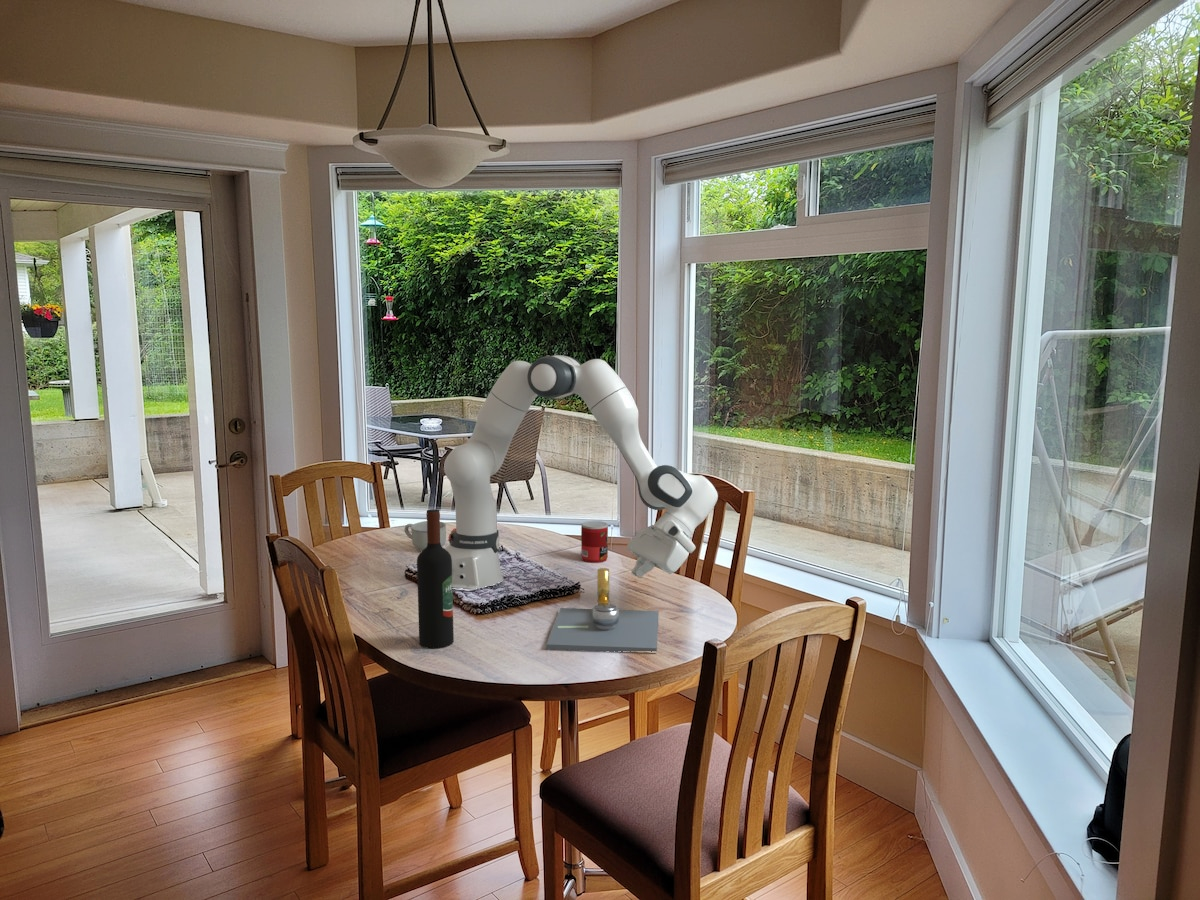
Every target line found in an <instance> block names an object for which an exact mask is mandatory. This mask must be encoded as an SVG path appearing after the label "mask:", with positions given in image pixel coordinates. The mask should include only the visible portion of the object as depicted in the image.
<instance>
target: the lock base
mask: <svg viewBox="0 0 1200 900" xmlns="http://www.w3.org/2000/svg"><path fill="white" fill-rule="evenodd" d="M659 616H660V615H659V610H642V609H641V610H638V609H636V610H635V609H634V610H633V609H619V622H618V623H617V624H615V625H611V626H600V625H596V624H594V623H593V608H573V607H561V608H560V609H559V611H558V614H557V616H556V619H555V621H554V624H553V627H552V629H551V632H550V634H549V636H548V639H547V642H546V648H545V649H546V650H550V651H573V652H574V651H577V652H578V651H580V652H600V651H603V652H602V653H605V652H606V651H609V652H608V653H619V652H618V651H621V652H620V653H624V652H623V651H630V652H631V651H651V652H652V651H657V650H658V636H657V634H658V632H659ZM614 651H615V652H614ZM657 652H658V651H657ZM606 653H607V652H606Z"/></svg>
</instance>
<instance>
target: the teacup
mask: <svg viewBox="0 0 1200 900" xmlns="http://www.w3.org/2000/svg"><path fill="white" fill-rule="evenodd" d="M446 527H447V524H446V523H445V522H442V521H440V543H441V547H443V546H445V544H446V541H447V540H446V539H447V530H446V529H447V528H446ZM409 528H410V529H411V531H410V530H409ZM404 534H405V535H406V536H407V537H408V538H409V539H410V540H411V542H412V545H413V547H415V549H417V550H418V551H420V552H422V551H423V550H424V549H425V548H426V547H427V543H428V540H427V520H426V521H425V520H424V521H420V522H415V523H407V524H406V525H405V527H404Z"/></svg>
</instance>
